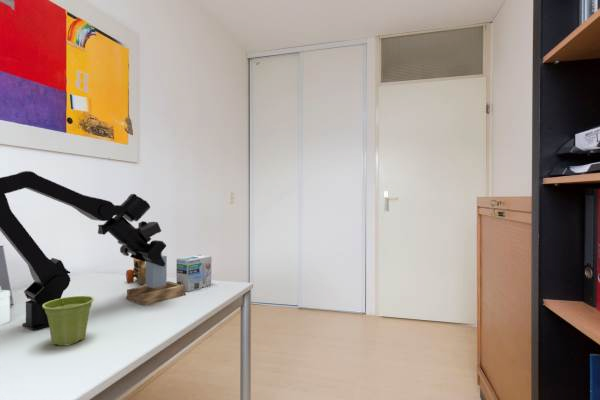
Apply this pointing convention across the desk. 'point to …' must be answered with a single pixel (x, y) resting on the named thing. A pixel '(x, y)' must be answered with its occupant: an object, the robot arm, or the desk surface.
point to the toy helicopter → (137, 272)
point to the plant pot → (68, 318)
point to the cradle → (155, 293)
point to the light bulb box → (194, 272)
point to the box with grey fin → (156, 274)
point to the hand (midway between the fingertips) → (160, 264)
